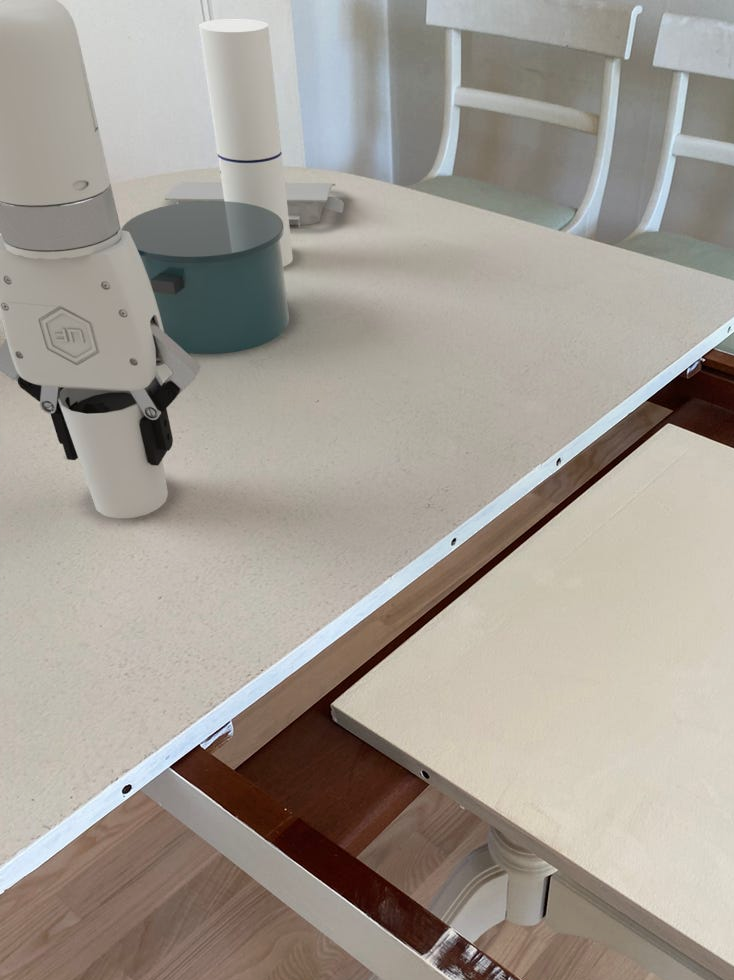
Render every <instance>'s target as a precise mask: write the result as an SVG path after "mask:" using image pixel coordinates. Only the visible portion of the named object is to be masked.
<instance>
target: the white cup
mask: <svg viewBox="0 0 734 980" xmlns="http://www.w3.org/2000/svg"><path fill="white" fill-rule="evenodd" d="M67 397H69V400H70V406H71V405H72V404H74V403H75V402H76V401H77V402H78V404H76V405H75V406H74V407H72V409H71V410H70V409H69V407H68V405H67V404H66V402H65V400H66V398H67ZM58 402H59V404H60V407H61V410H62V413H63V416H64V418H65V421H66V424H67V427H68V430H69V433H70V436H71V439H72V441H73V444H74V447H75V450H76V453H77V456H78V459H77V460H78V462H79V464H80V467H81V470H82V473H83V476H84V479H85V481H86V485H87V488H88V490H89V493H90V497H91V498H92V501H93V504H94V507H95V510H96V511H97V512H99V513H100V514H102V515H103V516H104V517H109V518H112V519H117V520H119V519H134V518H138V517H143V516H146V515H149V514H151V513H153V512H155V511H157V510H158V509H160V508H161V507H162V506H163V505H164V504H165V503H166V502H167V499H168V495H169V492H168V491H169V490H168V486H167V485H168V484H167V480H166V474H165V469H164V463H163V459H162V460H161V462H160V464H159V465H158V466H157V465H151V464H150V463H148V461H147V456H146V452H145V448H144V444H143V440H142V436H141V431H140V426H139V424H140V420H141V419H142V417H144V414H143V412H142V411H141V409H140V407H139V406H138V404H137V403H136V401H135V399H134V398H133V396H132V395H131V393H130V391H114V390H96V389H79V388H63V389H62V390H61V392H60V396H59V398H58Z"/></svg>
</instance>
